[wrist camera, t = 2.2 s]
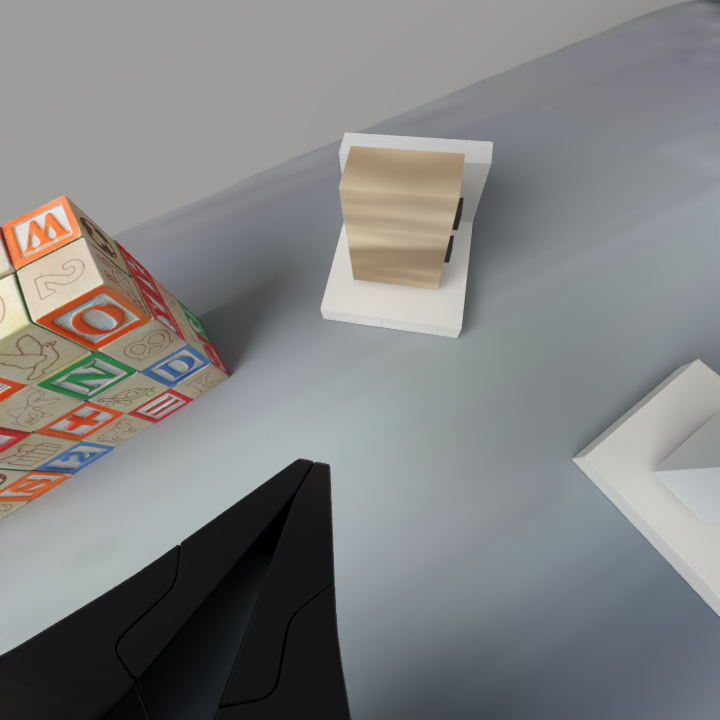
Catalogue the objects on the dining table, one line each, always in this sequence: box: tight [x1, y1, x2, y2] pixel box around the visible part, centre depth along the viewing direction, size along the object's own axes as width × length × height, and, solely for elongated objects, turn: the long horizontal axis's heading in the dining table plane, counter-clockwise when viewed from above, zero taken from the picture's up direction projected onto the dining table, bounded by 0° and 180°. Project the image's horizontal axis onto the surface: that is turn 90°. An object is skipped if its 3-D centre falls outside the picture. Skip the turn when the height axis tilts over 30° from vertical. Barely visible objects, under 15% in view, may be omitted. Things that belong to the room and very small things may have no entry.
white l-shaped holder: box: [320, 133, 493, 338], centre depth 24 cm, size 12×10×6 cm
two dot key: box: [339, 146, 465, 290], centre depth 21 cm, size 3×6×8 cm, turn 79°
